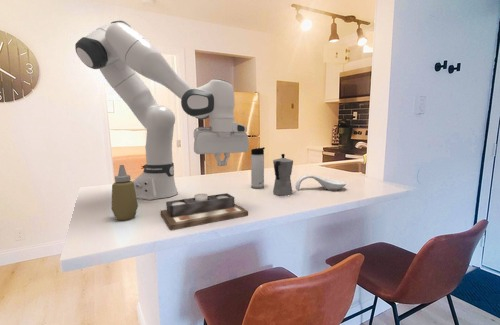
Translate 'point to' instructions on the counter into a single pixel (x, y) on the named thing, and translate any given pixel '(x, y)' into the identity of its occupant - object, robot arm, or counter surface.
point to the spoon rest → (323, 182)
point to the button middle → (201, 197)
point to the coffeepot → (282, 176)
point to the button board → (201, 211)
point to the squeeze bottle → (123, 196)
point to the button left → (177, 203)
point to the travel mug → (257, 168)
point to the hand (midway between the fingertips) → (222, 165)
